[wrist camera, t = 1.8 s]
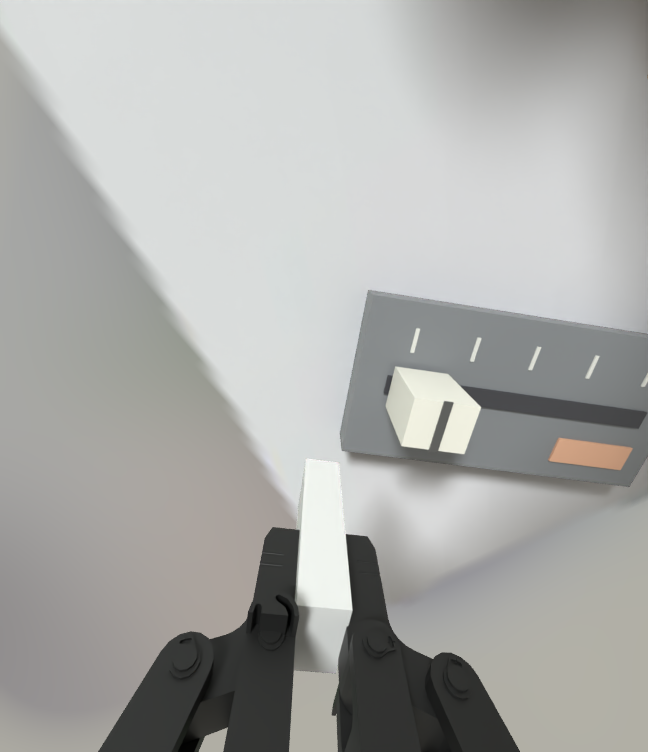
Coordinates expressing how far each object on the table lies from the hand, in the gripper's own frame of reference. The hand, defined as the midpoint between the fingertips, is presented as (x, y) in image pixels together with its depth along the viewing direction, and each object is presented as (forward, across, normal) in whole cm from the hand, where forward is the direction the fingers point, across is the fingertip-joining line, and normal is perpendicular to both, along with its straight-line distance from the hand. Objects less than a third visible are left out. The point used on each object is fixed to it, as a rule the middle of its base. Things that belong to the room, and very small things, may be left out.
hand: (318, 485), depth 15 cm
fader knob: (+13, +8, 0) cm, 15 cm away
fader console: (+16, +17, 0) cm, 24 cm away
